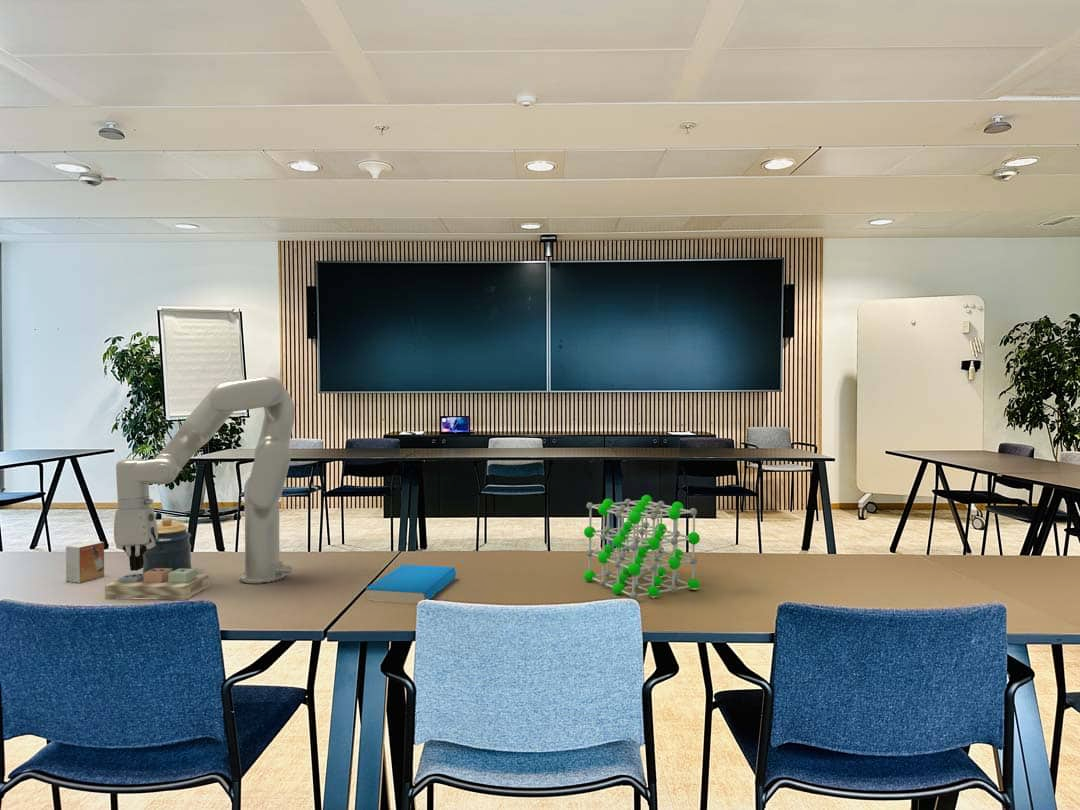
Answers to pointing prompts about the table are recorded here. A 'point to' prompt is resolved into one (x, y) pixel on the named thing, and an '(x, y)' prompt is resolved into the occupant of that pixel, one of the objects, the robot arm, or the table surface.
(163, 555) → the canister
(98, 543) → the small box
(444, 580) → the book
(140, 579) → the building block
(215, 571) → the table surface
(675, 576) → the molecular structure model
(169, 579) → the tile
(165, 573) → the orange square block
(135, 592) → the wooden tile tray
